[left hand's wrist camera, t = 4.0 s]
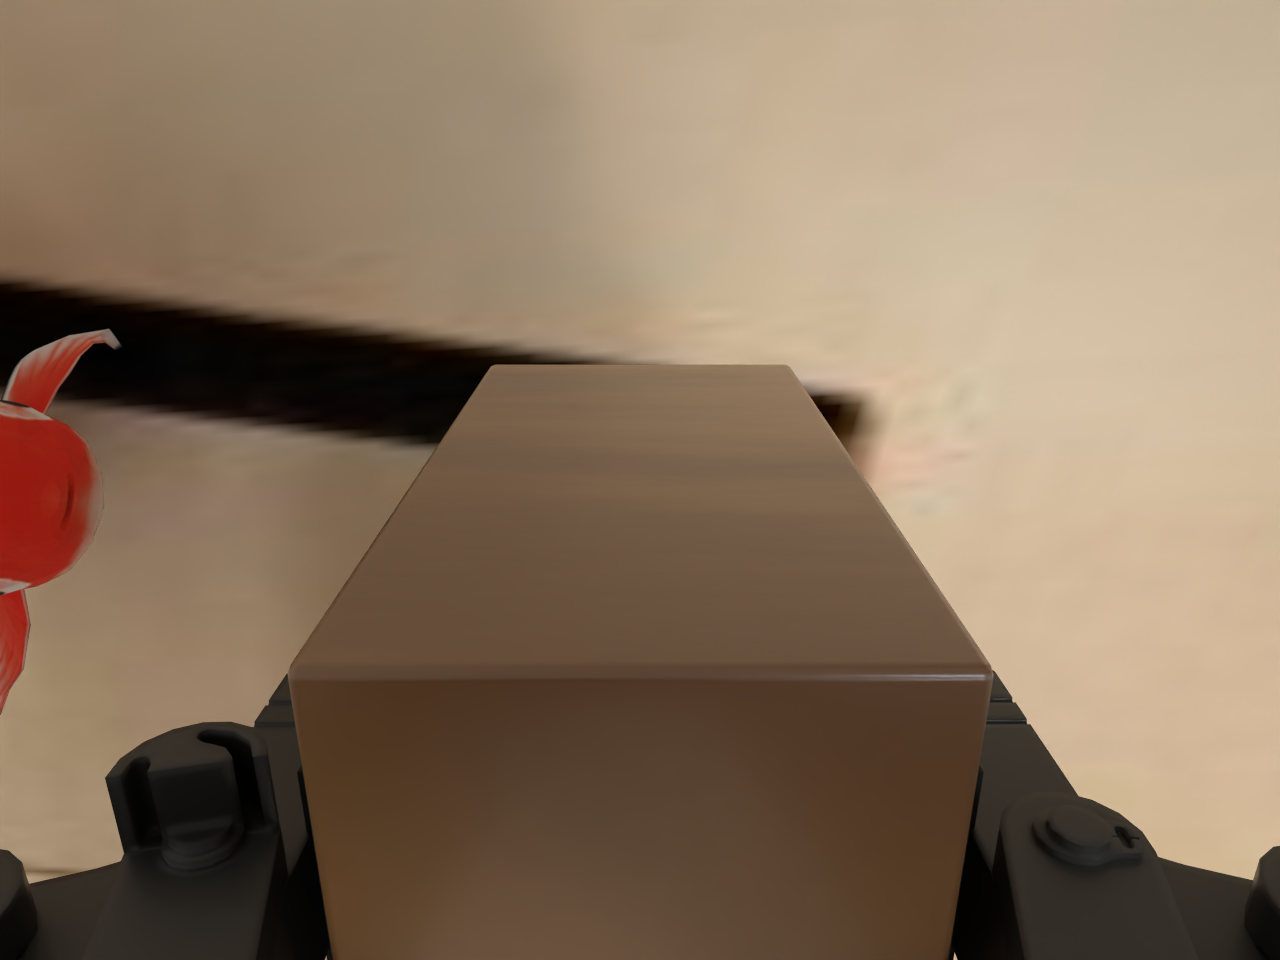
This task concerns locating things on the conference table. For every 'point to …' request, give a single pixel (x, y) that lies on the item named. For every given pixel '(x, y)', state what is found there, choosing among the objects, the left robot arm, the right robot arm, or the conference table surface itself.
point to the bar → (640, 690)
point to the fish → (41, 490)
